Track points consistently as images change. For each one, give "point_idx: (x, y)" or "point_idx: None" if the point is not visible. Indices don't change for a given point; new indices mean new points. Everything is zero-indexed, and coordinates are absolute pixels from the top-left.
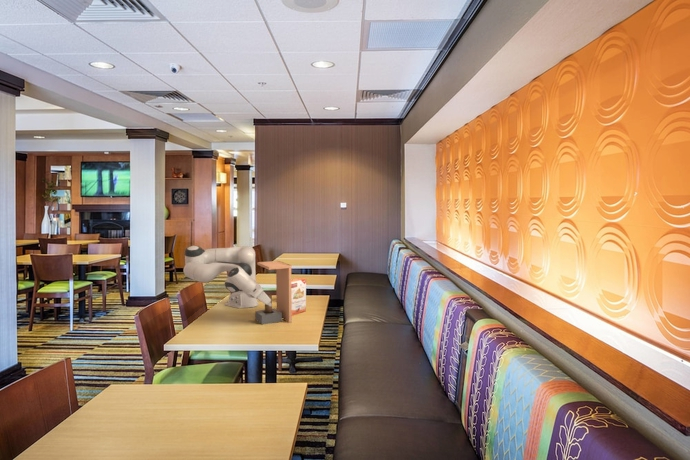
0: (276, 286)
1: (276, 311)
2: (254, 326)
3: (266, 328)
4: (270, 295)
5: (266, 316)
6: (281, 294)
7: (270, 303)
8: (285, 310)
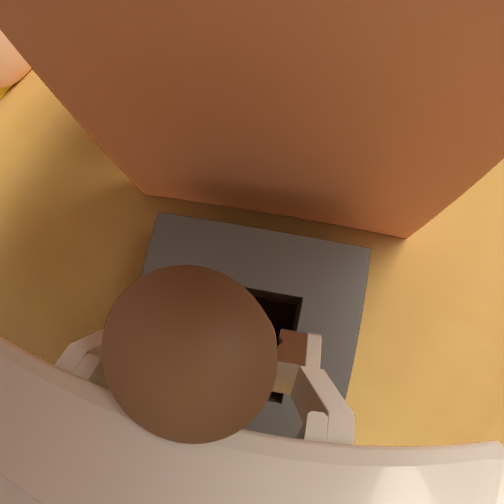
0: (4, 31)
1: (279, 261)
2: None
3: (418, 445)
4: (231, 318)
5: None
6: (215, 62)
7: (318, 364)
8: (352, 191)
